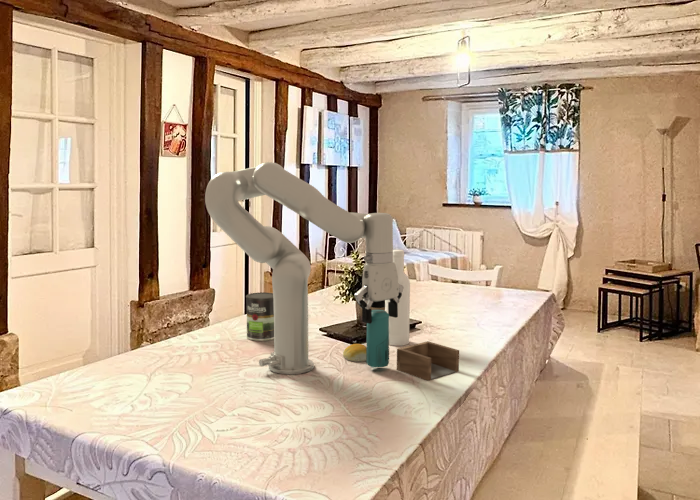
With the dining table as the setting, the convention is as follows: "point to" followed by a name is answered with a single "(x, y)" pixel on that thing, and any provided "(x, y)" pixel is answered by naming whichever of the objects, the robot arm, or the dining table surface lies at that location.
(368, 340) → the beverage bottle
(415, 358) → the u rest
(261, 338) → the coffee can
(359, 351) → the bread roll
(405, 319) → the bottle
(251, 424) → the dining table surface
